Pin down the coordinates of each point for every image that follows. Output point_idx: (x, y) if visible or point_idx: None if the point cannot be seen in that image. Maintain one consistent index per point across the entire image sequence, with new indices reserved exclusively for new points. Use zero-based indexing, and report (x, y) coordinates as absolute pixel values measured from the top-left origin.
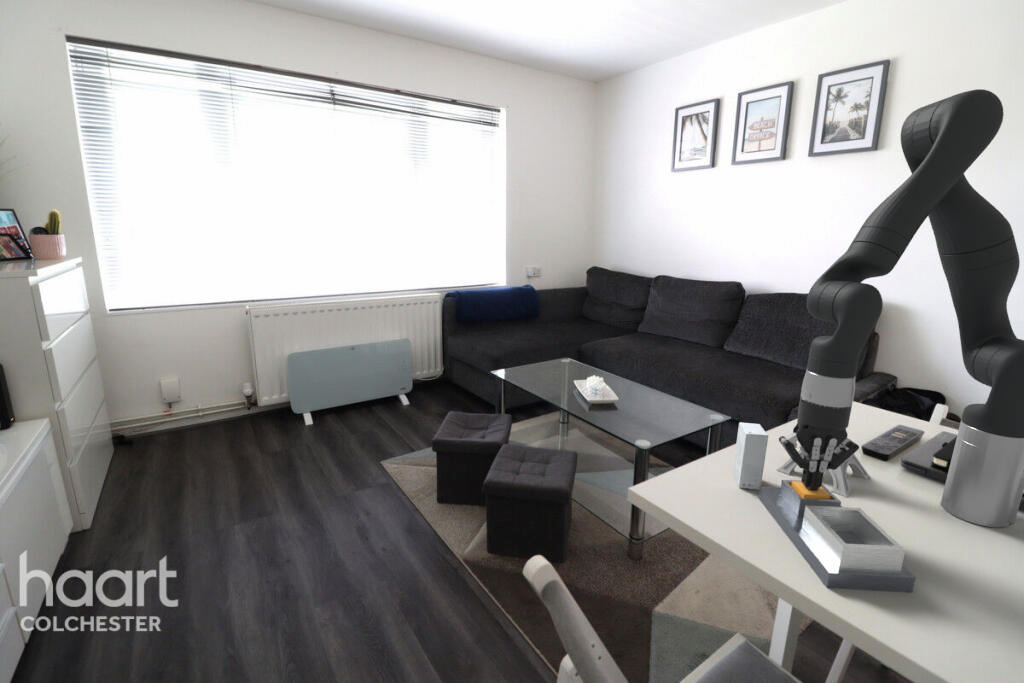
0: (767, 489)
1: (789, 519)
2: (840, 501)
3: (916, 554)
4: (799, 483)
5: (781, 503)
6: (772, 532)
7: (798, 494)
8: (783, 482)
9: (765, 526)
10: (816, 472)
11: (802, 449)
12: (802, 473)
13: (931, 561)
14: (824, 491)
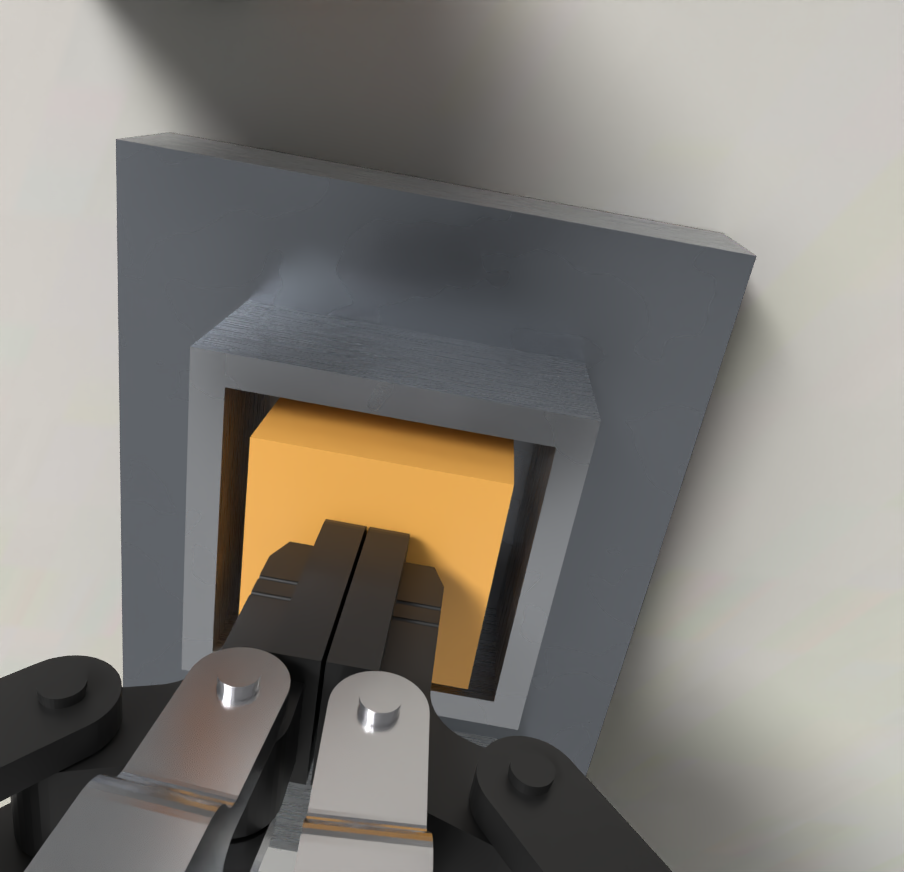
0: (168, 208)
1: (143, 615)
2: (518, 722)
3: (794, 787)
4: (304, 484)
5: (187, 435)
6: (89, 547)
7: (211, 602)
8: (192, 380)
9: (70, 491)
10: (304, 781)
11: (66, 831)
12: (240, 613)
13: (813, 831)
14: (460, 633)
